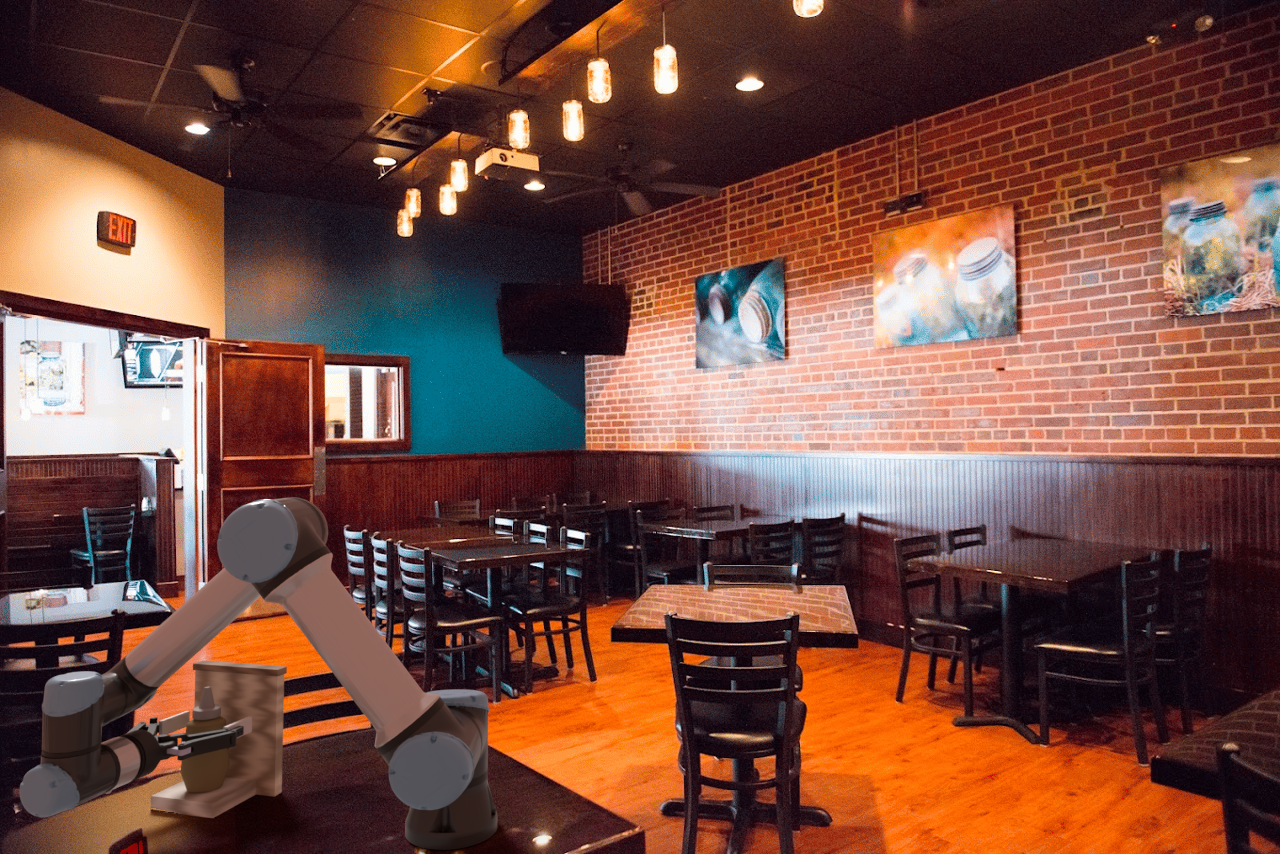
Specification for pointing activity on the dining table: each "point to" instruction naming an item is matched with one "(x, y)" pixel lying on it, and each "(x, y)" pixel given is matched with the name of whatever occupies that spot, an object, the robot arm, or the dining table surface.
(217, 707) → the squeeze bottle
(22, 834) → the dining table surface
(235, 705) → the wooden display stand
